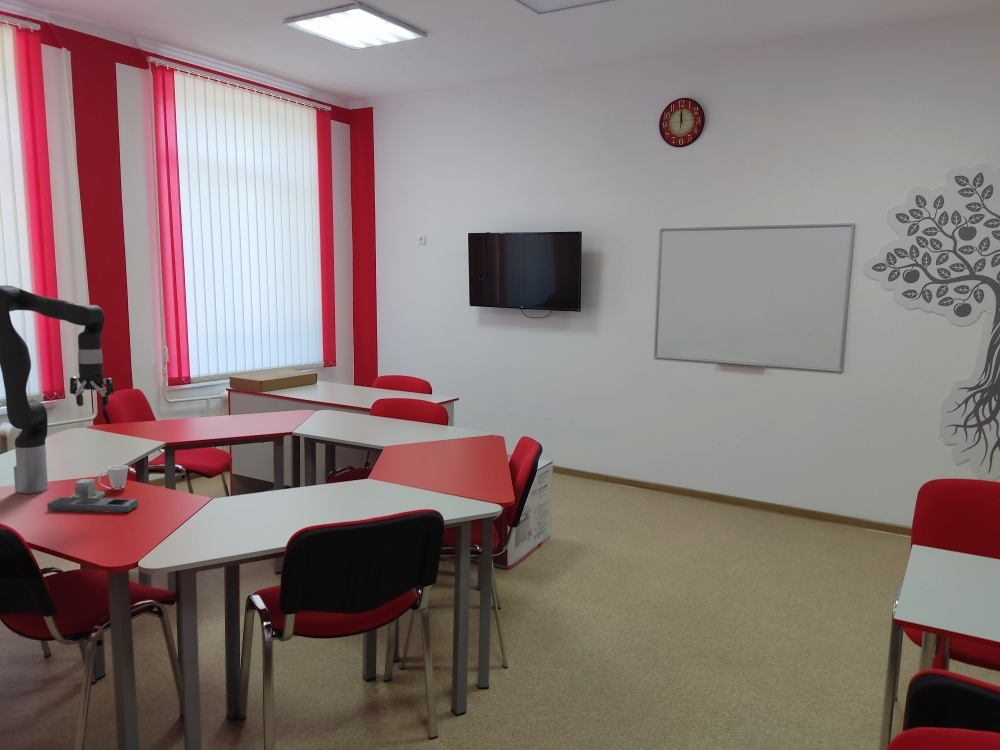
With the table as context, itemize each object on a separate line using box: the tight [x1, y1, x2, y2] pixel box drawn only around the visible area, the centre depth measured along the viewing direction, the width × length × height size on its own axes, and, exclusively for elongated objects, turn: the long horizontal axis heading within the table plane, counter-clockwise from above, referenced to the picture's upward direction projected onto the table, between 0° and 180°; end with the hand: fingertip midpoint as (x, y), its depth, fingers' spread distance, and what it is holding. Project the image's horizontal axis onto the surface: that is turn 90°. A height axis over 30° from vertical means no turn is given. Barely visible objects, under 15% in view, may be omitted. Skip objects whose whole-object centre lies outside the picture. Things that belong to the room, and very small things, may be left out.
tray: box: [69, 491, 106, 498], centre depth 248 cm, size 9×9×2 cm
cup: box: [98, 464, 129, 490], centre depth 261 cm, size 7×10×8 cm
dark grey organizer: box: [46, 496, 139, 513], centre depth 240 cm, size 27×7×3 cm, turn 91°
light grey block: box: [74, 478, 96, 498], centre depth 248 cm, size 4×4×6 cm
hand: (92, 406), depth 249 cm, fingers open, 8 cm apart
